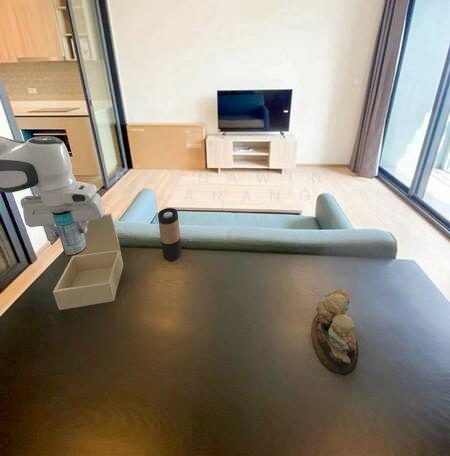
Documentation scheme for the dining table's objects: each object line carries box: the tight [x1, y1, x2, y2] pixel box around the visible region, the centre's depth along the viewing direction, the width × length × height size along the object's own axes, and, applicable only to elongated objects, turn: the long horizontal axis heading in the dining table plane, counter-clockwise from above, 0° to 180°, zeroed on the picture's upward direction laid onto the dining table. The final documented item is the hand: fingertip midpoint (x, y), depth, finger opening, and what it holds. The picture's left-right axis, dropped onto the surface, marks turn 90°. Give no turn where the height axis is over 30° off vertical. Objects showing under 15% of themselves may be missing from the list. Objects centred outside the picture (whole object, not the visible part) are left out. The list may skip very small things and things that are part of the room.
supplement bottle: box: [52, 210, 86, 257], centre depth 73 cm, size 6×6×15 cm
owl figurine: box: [311, 288, 359, 376], centre depth 65 cm, size 18×12×17 cm, turn 166°
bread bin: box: [52, 249, 124, 311], centre depth 85 cm, size 16×17×8 cm
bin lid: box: [77, 213, 121, 255], centre depth 89 cm, size 16×17×5 cm
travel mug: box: [157, 207, 182, 262], centre depth 97 cm, size 8×8×20 cm
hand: (71, 233), depth 73 cm, fingers closed on supplement bottle, 6 cm apart
